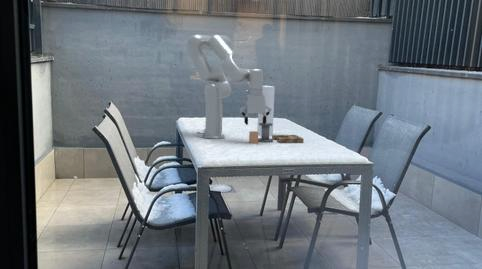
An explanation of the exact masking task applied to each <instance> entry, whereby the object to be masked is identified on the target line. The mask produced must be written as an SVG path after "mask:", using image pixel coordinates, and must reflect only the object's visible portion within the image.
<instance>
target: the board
mask: <svg viewBox="0 0 482 269" xmlns="http://www.w3.org/2000/svg"><path fill="white" fill-rule="evenodd" d="M271 139H273V141H276V143H278V144H304V139H305V138H303V137H301V136H299V135H297V134H273V135H272V136H271Z"/></svg>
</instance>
